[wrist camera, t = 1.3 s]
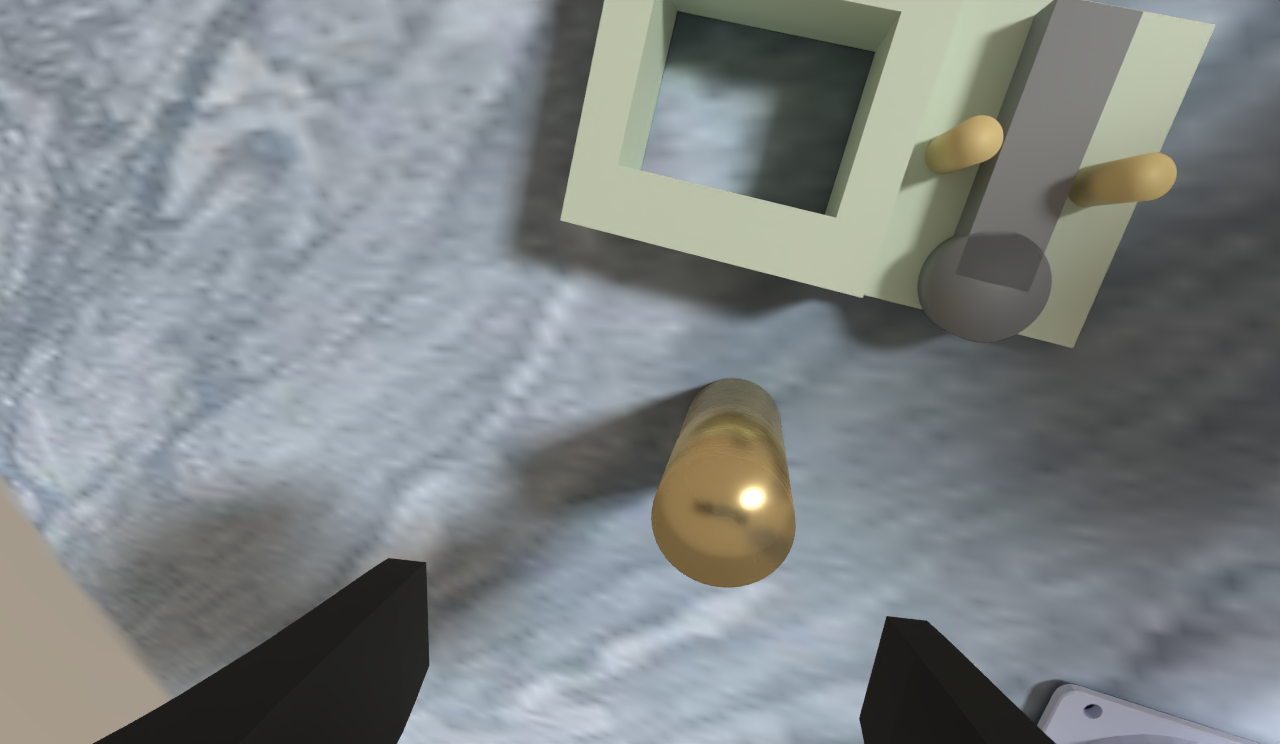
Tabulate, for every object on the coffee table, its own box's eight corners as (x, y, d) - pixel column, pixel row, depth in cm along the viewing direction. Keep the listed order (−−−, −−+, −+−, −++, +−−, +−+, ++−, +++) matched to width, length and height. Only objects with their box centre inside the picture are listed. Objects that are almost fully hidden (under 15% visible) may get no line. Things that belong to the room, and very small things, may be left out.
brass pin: (792, 393, 19) (815, 480, 12) (765, 478, 19) (771, 605, 13) (699, 367, 19) (670, 437, 12) (676, 452, 20) (636, 561, 13)
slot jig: (1186, 38, 15) (1307, -18, 12) (1049, 355, 17) (1118, 382, 14) (651, -64, 17) (626, -138, 13) (587, 235, 19) (552, 235, 16)
